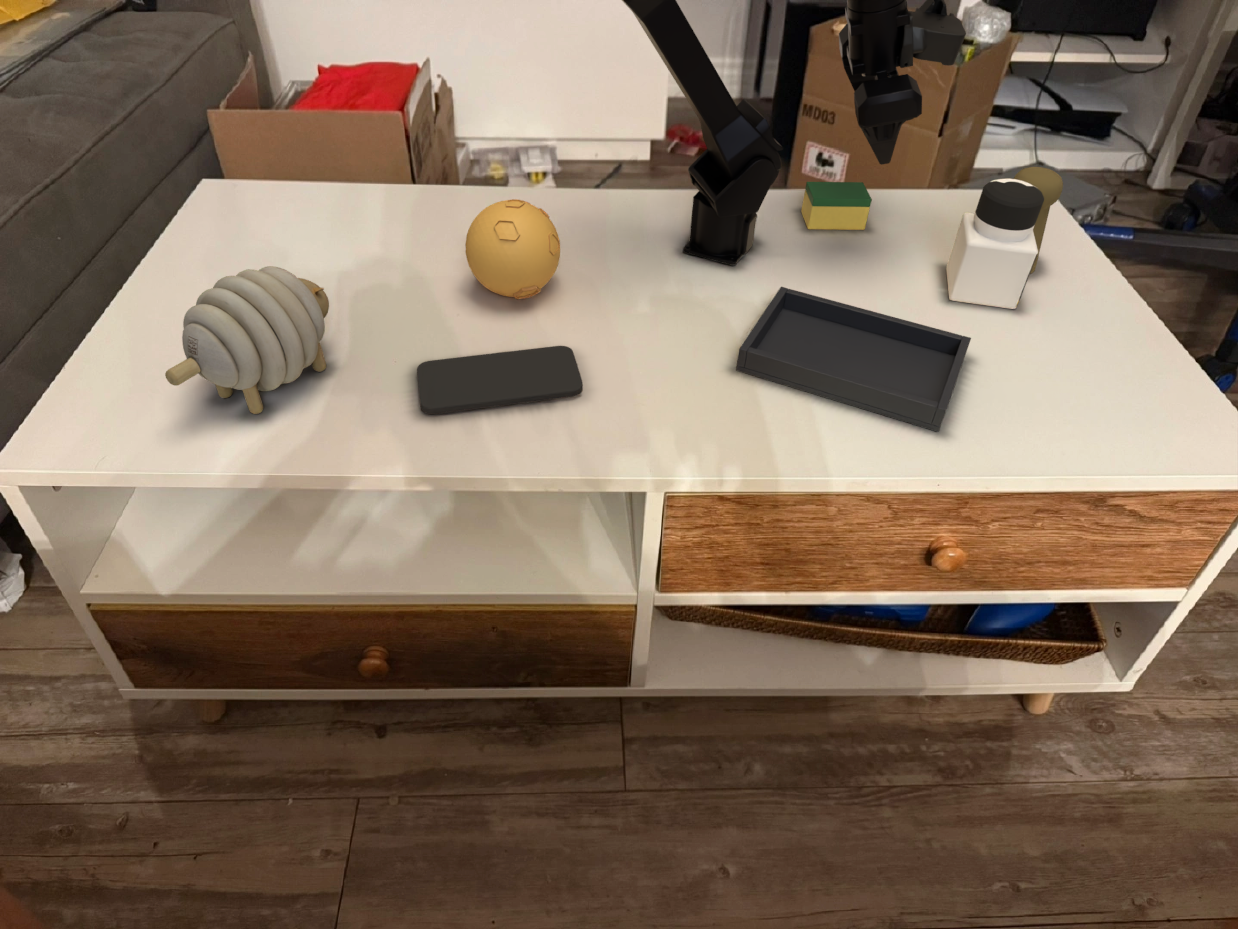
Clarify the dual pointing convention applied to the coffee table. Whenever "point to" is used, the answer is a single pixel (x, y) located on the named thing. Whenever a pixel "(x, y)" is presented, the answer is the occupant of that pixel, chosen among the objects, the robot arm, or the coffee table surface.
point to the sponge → (836, 205)
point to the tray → (855, 357)
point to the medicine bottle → (995, 245)
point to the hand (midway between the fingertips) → (879, 141)
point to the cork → (1051, 191)
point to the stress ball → (513, 248)
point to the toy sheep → (253, 333)
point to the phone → (498, 379)
